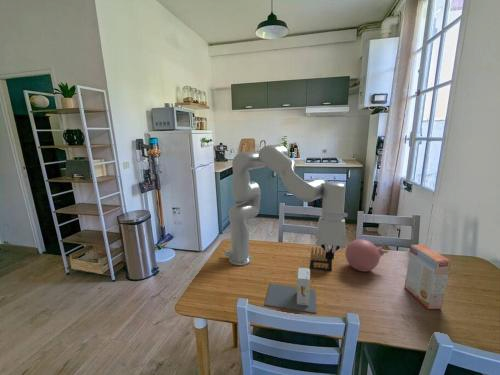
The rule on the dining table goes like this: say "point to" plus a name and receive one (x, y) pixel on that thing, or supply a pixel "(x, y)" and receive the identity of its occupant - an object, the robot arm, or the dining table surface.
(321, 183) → the robot arm
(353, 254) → the pink balloon
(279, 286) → the mat
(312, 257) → the ammunition clip
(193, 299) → the dining table surface
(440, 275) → the cracker box
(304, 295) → the ink box
